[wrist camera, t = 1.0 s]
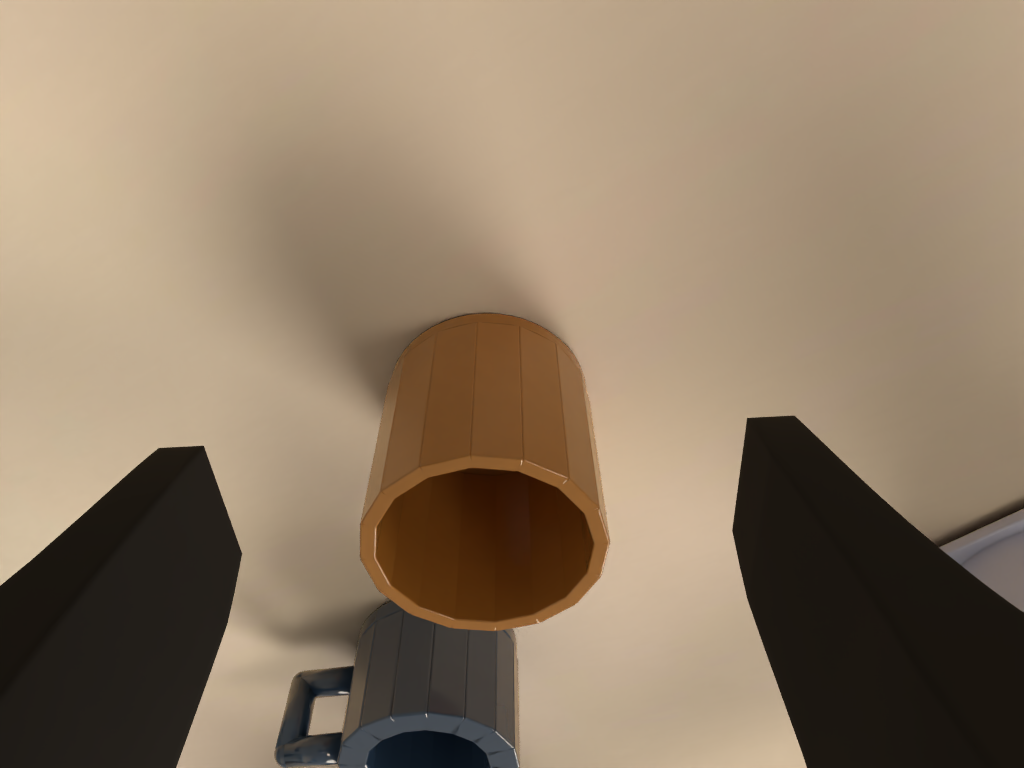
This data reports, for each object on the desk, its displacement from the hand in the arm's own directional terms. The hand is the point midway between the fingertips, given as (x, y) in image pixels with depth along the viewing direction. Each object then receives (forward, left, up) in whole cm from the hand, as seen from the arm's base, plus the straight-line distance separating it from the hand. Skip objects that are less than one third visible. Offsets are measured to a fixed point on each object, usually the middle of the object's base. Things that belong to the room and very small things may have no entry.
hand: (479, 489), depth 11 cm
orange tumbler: (-4, +4, -10) cm, 11 cm away
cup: (-11, +12, -10) cm, 19 cm away
